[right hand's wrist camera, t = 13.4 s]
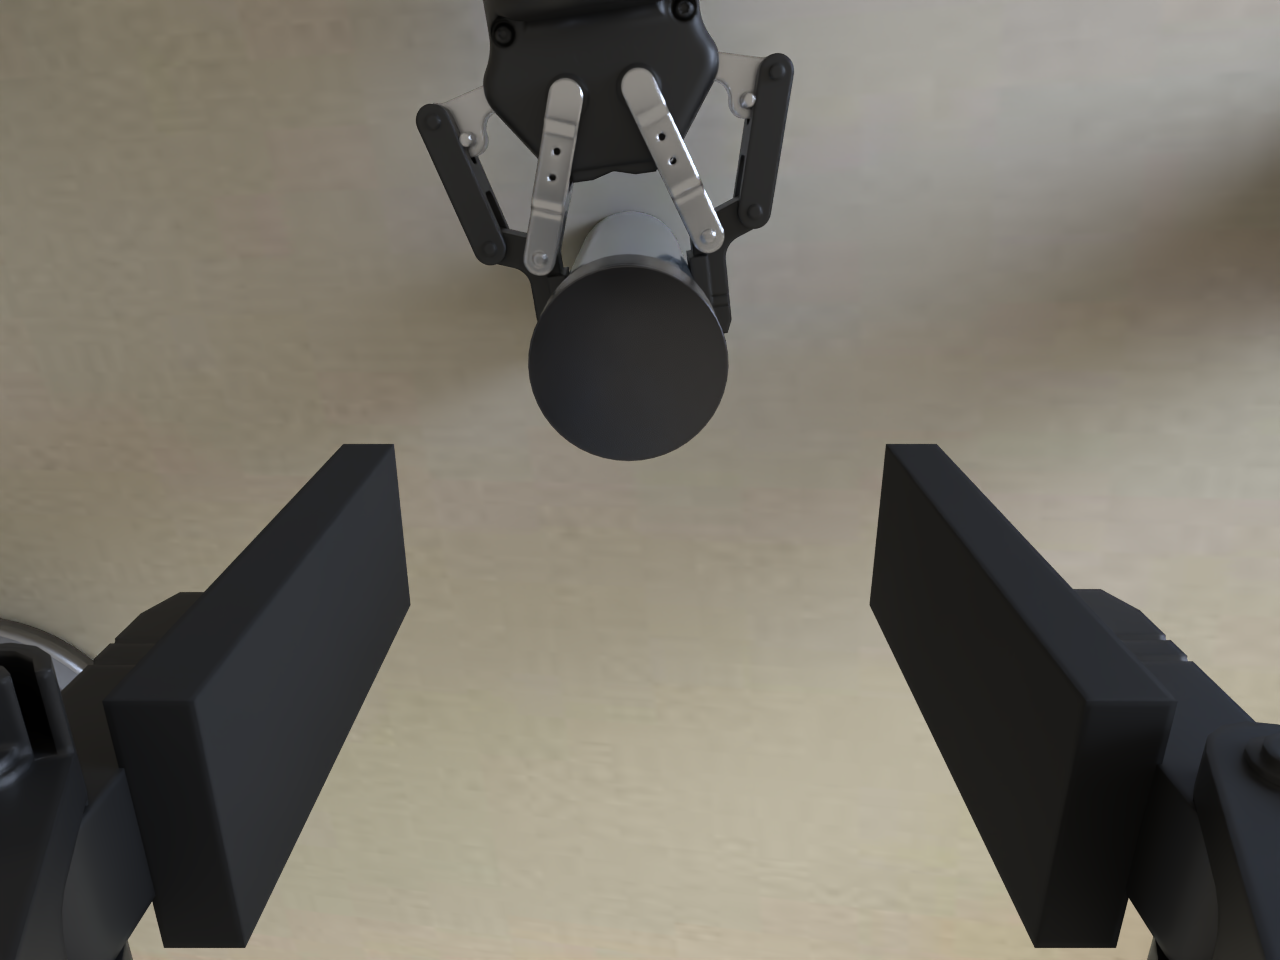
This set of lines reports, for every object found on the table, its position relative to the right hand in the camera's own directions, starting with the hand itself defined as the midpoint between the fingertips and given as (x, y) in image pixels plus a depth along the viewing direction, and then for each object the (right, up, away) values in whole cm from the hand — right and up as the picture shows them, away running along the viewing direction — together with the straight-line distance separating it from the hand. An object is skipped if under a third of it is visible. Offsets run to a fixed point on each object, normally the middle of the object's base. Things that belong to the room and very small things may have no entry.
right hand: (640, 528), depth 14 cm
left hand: (0, +6, +23) cm, 23 cm away
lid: (0, +4, +10) cm, 11 cm away
